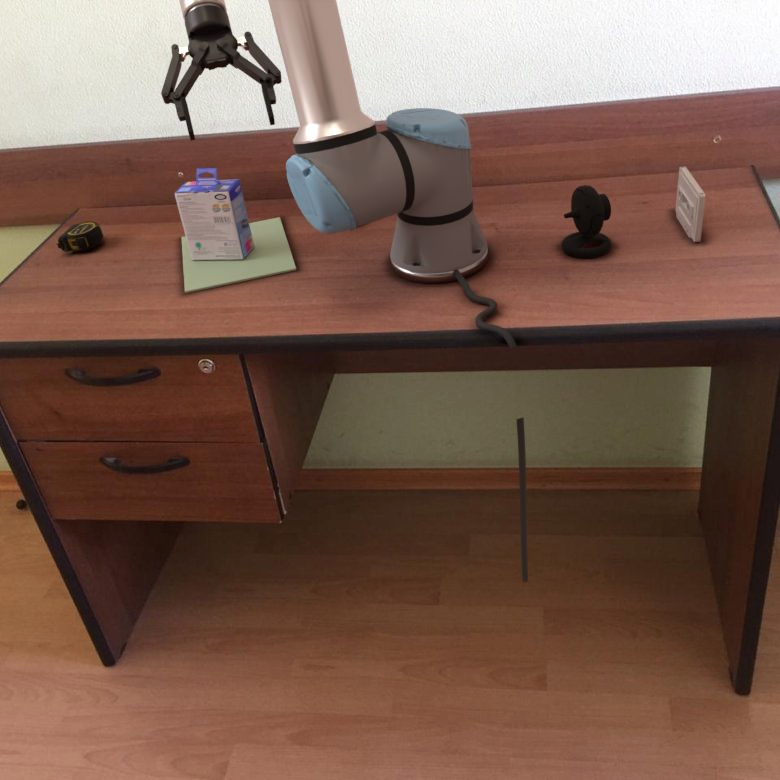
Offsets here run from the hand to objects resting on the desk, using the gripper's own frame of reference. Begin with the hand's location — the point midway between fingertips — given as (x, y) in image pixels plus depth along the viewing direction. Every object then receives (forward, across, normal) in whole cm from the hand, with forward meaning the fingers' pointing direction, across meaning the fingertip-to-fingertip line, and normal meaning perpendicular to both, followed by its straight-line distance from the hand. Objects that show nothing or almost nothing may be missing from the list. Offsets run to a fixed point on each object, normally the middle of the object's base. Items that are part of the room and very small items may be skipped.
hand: (232, 128), depth 139 cm
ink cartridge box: (+19, +6, -6) cm, 21 cm away
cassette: (+37, -66, +10) cm, 76 cm away
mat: (+19, +4, -6) cm, 21 cm away
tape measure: (+8, +31, -18) cm, 37 cm away
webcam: (+37, -49, +10) cm, 62 cm away
